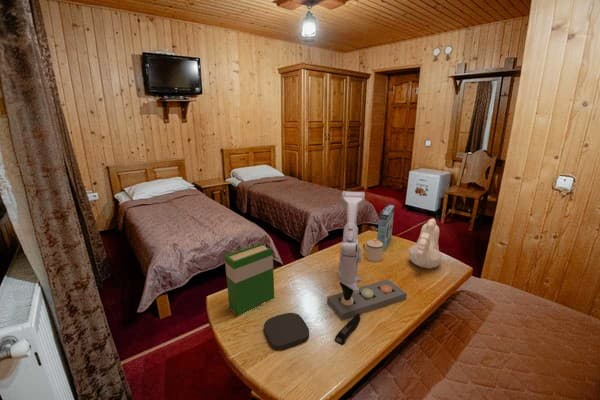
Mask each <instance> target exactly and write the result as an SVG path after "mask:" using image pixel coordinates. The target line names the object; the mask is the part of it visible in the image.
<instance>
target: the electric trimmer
mask: <svg viewBox="0 0 600 400" xmlns="http://www.w3.org/2000/svg"><path fill="white" fill-rule="evenodd" d="M359 322H361V314H356V315H355V316H354V317H351V319H350V320H349V321H347V323H346V324H345V325H344V326H343V327H342V328H341V329H340V330H339V331H338V333H337V334H336V335H335V337H334V342H335V343H337V344H338V345H340V346H343V345H344V344H345V343H346V340H347V337H348V336H349V335H350V334H351V332H352V331H355V330H356V328H357V327H358V325H359Z"/></svg>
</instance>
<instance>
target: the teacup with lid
mask: <svg viewBox="0 0 600 400" xmlns="http://www.w3.org/2000/svg"><path fill="white" fill-rule="evenodd" d="M365 246H366V247H365ZM362 249H363V251H365V258H366V260H367V261H369V262H372V263H373V262H375V263H377V262H378V263H379V262H380V261H382V259H383V253H384V252H383V243H382V242H381V241H378V240H377V238H373V239H370V240H367V241H366V242H364V243H363V244H362Z"/></svg>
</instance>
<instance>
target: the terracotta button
mask: <svg viewBox="0 0 600 400" xmlns="http://www.w3.org/2000/svg"><path fill="white" fill-rule="evenodd" d="M380 290H381V291H382V292H383V293H384V294H388V293H391V292H392V287H391V286H389V285H381V286H380Z"/></svg>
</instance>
